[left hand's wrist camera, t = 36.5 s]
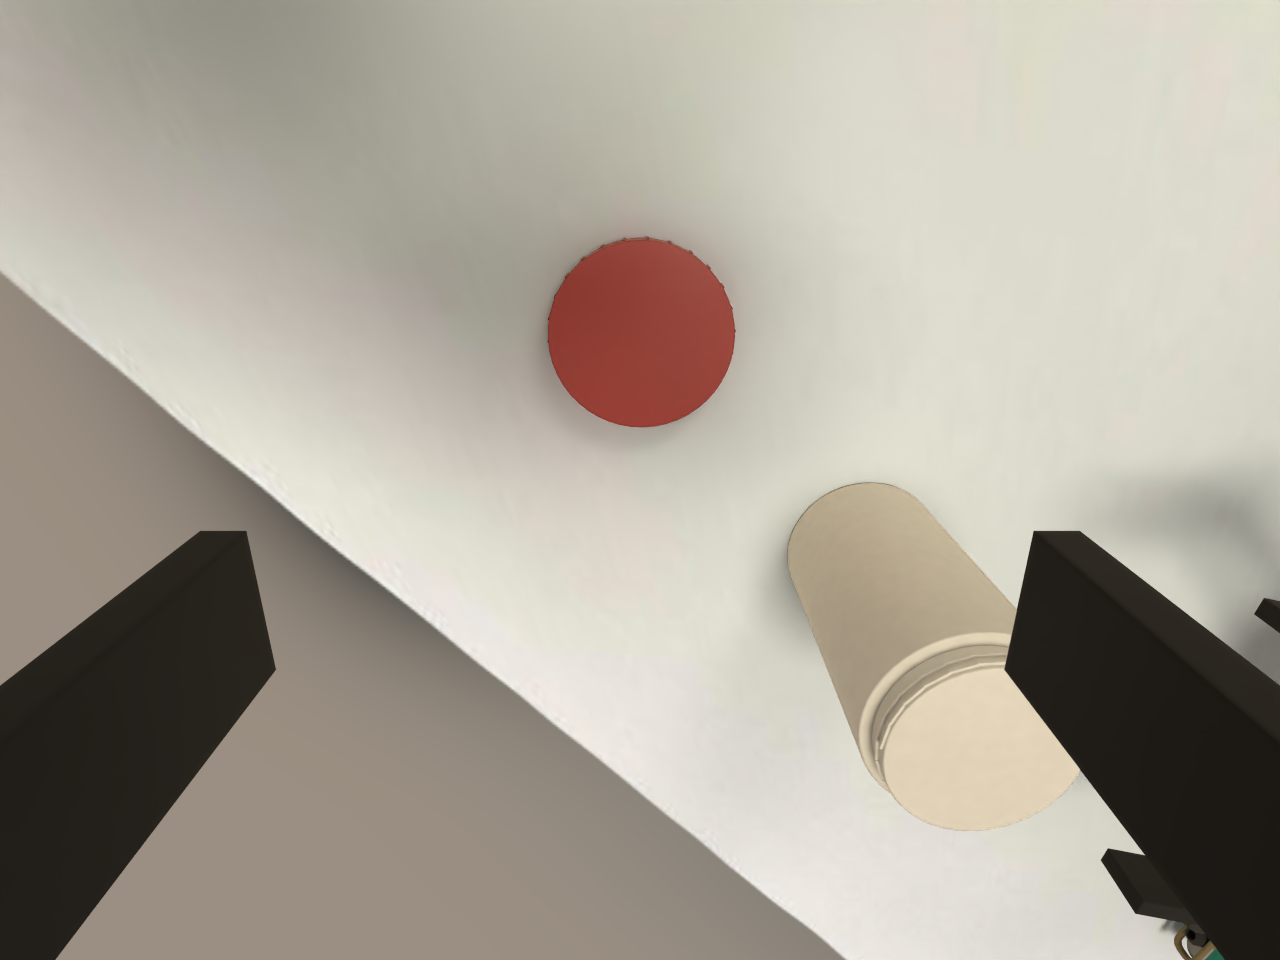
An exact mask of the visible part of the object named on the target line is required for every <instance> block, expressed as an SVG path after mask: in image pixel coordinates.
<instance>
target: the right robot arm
mask: <svg viewBox="0 0 1280 960" xmlns="http://www.w3.org/2000/svg"><path fill="white" fill-rule="evenodd" d="M1255 615H1256V616H1257V617H1259V618H1260V619H1261V620H1263V621H1264V622H1266V623H1267V624H1268V625H1270V626H1271V627H1272V628H1274V629H1275V630H1277V631H1278V632H1279V633H1280V601H1275V600H1271V599H1266V598H1264V599H1263V601H1262V602H1261V604H1260V605H1259V607H1258V609H1257V610H1256V612H1255ZM1101 861H1102V863H1103V864H1104V866H1105V867H1106V869H1107V870H1108V872H1109V873H1110V875H1111V877H1112V878H1113V880H1114V881H1115V883H1116V884H1117V886H1118V887H1119V889H1120V890H1121V892H1122V894H1123V895H1124V897H1125V898H1126V900H1127V901H1128V903H1129V904H1130V906H1131V907H1132V909H1133V910H1134V912H1135V914H1140V915H1146V916H1151V917H1156V918H1162V919H1167V920H1173V921H1178V922H1183V923H1185V925H1186V926H1187V927H1188V928H1189V929H1191V930H1192V931H1194V932H1196V933H1200V934H1205V933H1204V932H1203V930H1202V929H1201V928H1200V926H1199V925H1198V924H1197V923H1196V921H1195V920H1194V919H1193V917H1192V916H1191V915H1190V913H1189V912H1188V911H1187V909H1186V908H1185V907H1184V905H1183V904H1182V903H1181V902H1180V900H1179V899H1178V898H1177V896H1176V895H1175V894H1174V892H1173V891H1172V890H1171V888H1170V887H1169V886H1168V884H1167V883H1166V882H1165V880H1164V879H1163V878H1162V877H1161V875H1160V874H1159V873H1158V871H1157V870H1156V869H1155V867H1154V866H1153V865H1152V863H1151V862H1150V861H1149V859H1148V858H1147V857H1146V856H1145V855H1140V854H1135V853H1129V852H1124V851H1119V850H1114V849H1107V851H1106V853H1105V854H1104V856H1103V857H1102V859H1101ZM1205 935H1206V934H1205Z"/></svg>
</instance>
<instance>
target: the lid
mask: <svg viewBox="0 0 1280 960" xmlns="http://www.w3.org/2000/svg"><path fill="white" fill-rule="evenodd" d="M710 269H711V268H710V267H709V266H708V265H707V266H706V265H705V264H704V263H703V262H702V261H700V260H699V259H698V258H697V257H696V256H694V255H693V252H692V251H687V250H685V249H683V248H681V247H679V246H677V245H675V244H672V242H671V241H669V242H666V241H662V240H657V239H651V238H649V237H648V236H646V238H633V239H626V238H623V240H621V241H617V242H614V243H611V244H608V245H606V246H604V245H602V246H601V248H600V249H598V250H596V251H594V252H593V253H591V254H590V255H588V256H587V257H586V258H585V257H583V258H582V259H581V262H580V263H579V264H578V265H577V266H576V267H575V268H574V269H573V270H572V272H571V273H570V274H569V273H568V274H567V275H566V276H565V278H566V279H565V280H564V282H563V284H562V285H561V287H560V289H559V291H558V293H556V295H555V296H554V298H555V300H554V302H553V305H552V309H551V312H550V316H549V318H548V320H549V325H548V343H549V350H550V355H551V359H552V362H553V365H554V368H555V370H556V373H557V375H558V377H559V378H560V380H561V382H562V384H563V385H564V387H565V388H566V389H567V391H568V392H569V393H570V395H571V396H572V397H573V398H574V399H575V400H576V401H577V402H578V403H579V404H580V405H582V406H583V407H584V408H585V409H587V410H588V411H590V412H591V413H593V414H594V415H596V416H598V417H600V418H602V419H604V420H607V421H609V422H612V423H616V424H619V425H624V426H630V427H653V426H659V425H664V424H667V423H670V422H673V421H676V420H678V419H681V418H683V417H685V416H687V415H688V414H690V413H691V412H693V411H694V410H696V409H697V408H699V407H700V406H701V405H702V404H703V403H705V402H706V401H707V400H708V399H709V397H710V396H711V395H712V394H713V393H714V392H715V390H716V389H717V388H718V386H719V385H720V383H721V382H722V380H723V378H724V376H725V374H726V372H727V370H728V367H729V364H730V362H731V358H732V354H733V349H734V340H735V328H734V319H733V313H732V307H731V305H730V303H729V300H728V298H727V295H726V293H725V291H724V289H723V288H724V286H723V285H722V284H721V283H720V282H719V281H718V279H717V278H716V277H715V275H714V274H713V273H712V272H711V271H710Z"/></svg>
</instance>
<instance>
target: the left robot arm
mask: <svg viewBox="0 0 1280 960" xmlns="http://www.w3.org/2000/svg"><path fill="white" fill-rule="evenodd" d="M275 670H276V668H275V664H274V659H273V654H272V649H271V645H270V640H269V635H268V631H267V626H266V621H265V617H264V612H263V607H262V603H261V598H260V593H259V589H258V584H257V579H256V575H255V570H254V565H253V560H252V556H251V551H250V546H249V542H248V537H247V532H246V531H200V532H198V533H197V534H196V535H195V536H193V537H192V538H191V539H189V540H188V541H187V542H185V543H184V544H183V545H182V546H180V547H179V548H178V549H176V550H175V551H174V552H173V553H171V554H170V555H169V556H167V557H166V558H165V559H163V560H162V561H161V562H160V563H158V564H157V565H156V566H154V567H153V568H152V569H150V570H149V571H148V572H147V573H145V574H144V575H143V576H141V577H140V578H139V579H138V580H136V581H135V582H134V583H132V584H131V585H130V586H129V587H127V588H126V589H125V590H123V591H122V592H121V593H120V594H118V595H117V596H116V597H114V598H113V599H112V600H110V601H109V602H108V603H107V604H105V605H104V606H103V607H101V608H100V609H99V610H98V611H96V612H95V613H94V614H92V615H91V616H90V617H88V618H87V619H86V620H85V621H83V622H82V623H81V624H79V625H78V626H77V627H76V628H74V629H73V630H72V631H70V632H69V633H68V634H66V635H65V636H64V637H63V638H61V639H60V640H59V641H57V642H56V643H55V644H54V645H52V646H51V647H50V648H48V649H47V650H46V651H44V652H43V653H42V654H41V655H39V656H38V657H37V658H35V659H34V660H33V661H32V662H30V663H29V664H28V665H26V666H25V667H24V668H23V669H21V670H20V671H19V672H17V673H16V674H15V675H14V676H12V677H11V678H10V679H8V680H7V681H6V682H4V683H3V684H2V685H1V686H0V960H55V959H56V958H57V957H58V955H59V954H60V953H61V951H62V950H63V949H64V947H65V946H66V945H67V944H68V942H69V941H70V940H71V938H72V937H73V936H74V934H75V933H76V932H77V930H78V929H79V928H80V926H81V925H82V924H83V923H84V921H85V920H86V919H87V917H88V916H89V915H90V913H91V912H92V911H93V909H94V908H95V907H96V905H97V904H98V903H99V902H100V900H101V899H102V898H103V896H104V895H105V894H106V892H107V891H108V890H109V888H110V887H111V886H112V884H113V883H114V882H115V880H116V879H117V878H118V877H119V875H120V874H121V873H122V871H123V870H124V869H125V867H126V866H127V865H128V863H129V862H130V861H131V859H132V858H133V857H134V855H135V854H136V853H137V852H138V850H139V849H140V848H141V846H142V845H143V844H144V842H145V841H146V840H147V838H148V837H149V836H150V834H151V833H152V832H153V830H154V829H155V828H156V827H157V825H158V824H159V823H160V821H161V820H162V819H163V817H164V816H165V815H166V813H167V812H168V811H169V809H170V808H171V807H172V805H173V804H174V803H175V802H176V800H177V799H178V798H179V796H180V795H181V794H182V792H183V791H184V790H185V788H186V787H187V786H188V784H189V783H190V782H191V781H192V779H193V778H194V777H195V775H196V774H197V773H198V771H199V770H200V769H201V767H202V766H203V765H204V763H205V762H206V761H207V759H208V758H209V757H210V756H211V754H212V753H213V752H214V750H215V749H216V748H217V746H218V745H219V744H220V742H221V741H222V740H223V738H224V737H225V736H226V735H227V733H228V732H229V731H230V729H231V728H232V727H233V725H234V724H235V723H236V721H237V720H238V719H239V717H240V716H241V715H242V714H243V712H244V711H245V709H246V708H247V707H248V706H249V704H250V703H251V702H252V700H253V699H254V698H255V696H256V695H257V694H258V692H259V691H260V690H261V689H262V687H263V686H264V685H265V683H266V682H267V681H268V679H269V678H270V677H271V675H272V674H273V673H274V671H275ZM1004 670H1005V671H1006V673H1007V674H1008V675H1009V677H1010V678H1011V679H1012V681H1013V682H1014V683H1015V685H1016V686H1017V687H1018V689H1019V690H1020V691H1021V692H1022V694H1023V695H1024V696H1025V698H1026V699H1027V700H1028V702H1029V703H1030V704H1031V706H1032V707H1033V708H1034V710H1035V711H1036V712H1037V714H1038V715H1039V716H1040V717H1041V719H1042V720H1043V721H1044V723H1045V724H1046V725H1047V727H1048V728H1049V729H1050V731H1051V732H1052V733H1053V735H1054V736H1055V737H1056V738H1057V740H1058V741H1059V742H1060V744H1061V745H1062V746H1063V748H1064V749H1065V750H1066V752H1067V753H1068V754H1069V756H1070V757H1071V758H1072V760H1073V761H1074V762H1075V763H1076V765H1077V766H1078V767H1079V769H1080V770H1081V771H1082V773H1083V774H1084V775H1085V777H1086V778H1087V779H1088V781H1089V782H1090V783H1091V784H1092V786H1093V787H1094V788H1095V790H1096V791H1097V792H1098V794H1099V795H1100V796H1101V798H1102V799H1103V800H1104V802H1105V803H1106V804H1107V806H1108V807H1109V808H1110V809H1111V811H1112V812H1113V813H1114V815H1115V816H1116V817H1117V819H1118V820H1119V821H1120V823H1121V824H1122V825H1123V827H1124V828H1125V829H1126V831H1127V832H1128V833H1129V834H1130V836H1131V837H1132V838H1133V840H1134V841H1135V842H1136V844H1137V845H1138V846H1139V848H1140V849H1141V850H1142V852H1143V853H1144V854H1145V855H1146V857H1147V858H1148V859H1149V861H1150V862H1151V863H1152V865H1153V866H1154V867H1155V869H1156V870H1157V871H1158V873H1159V874H1160V875H1161V877H1162V878H1163V879H1164V880H1165V882H1166V883H1167V884H1168V886H1169V887H1170V888H1171V890H1172V891H1173V892H1174V894H1175V895H1176V896H1177V898H1178V899H1179V900H1180V902H1181V903H1182V904H1183V905H1184V907H1185V908H1186V909H1187V911H1188V912H1189V913H1190V915H1191V916H1192V917H1193V919H1194V920H1195V921H1196V923H1197V924H1198V925H1199V926H1200V928H1201V929H1202V930H1203V932H1204V933H1205V934H1206V936H1207V937H1208V938H1209V940H1210V941H1211V942H1212V944H1213V945H1214V946H1215V948H1216V949H1217V950H1218V951H1219V953H1220V954H1221V955H1222V957H1223V958H1224V959H1225V960H1280V686H1279V685H1278V684H1277V683H1276V682H1274V681H1273V680H1272V679H1270V678H1269V677H1268V676H1267V675H1265V674H1264V673H1263V672H1261V671H1260V670H1259V669H1258V668H1256V667H1255V666H1254V665H1252V664H1251V663H1250V662H1248V661H1247V660H1246V659H1245V658H1243V657H1242V656H1241V655H1239V654H1238V653H1237V652H1236V651H1234V650H1233V649H1232V648H1230V647H1229V646H1228V645H1226V644H1225V643H1224V642H1223V641H1221V640H1220V639H1219V638H1217V637H1216V636H1215V635H1214V634H1212V633H1211V632H1210V631H1208V630H1207V629H1206V628H1205V627H1203V626H1202V625H1201V624H1199V623H1198V622H1197V621H1195V620H1194V619H1193V618H1192V617H1190V616H1189V615H1188V614H1186V613H1185V612H1184V611H1183V610H1181V609H1180V608H1179V607H1177V606H1176V605H1175V604H1173V603H1172V602H1171V601H1170V600H1168V599H1167V598H1166V597H1164V596H1163V595H1162V594H1161V593H1159V592H1158V591H1157V590H1155V589H1154V588H1153V587H1151V586H1150V585H1149V584H1148V583H1146V582H1145V581H1144V580H1142V579H1141V578H1140V577H1139V576H1137V575H1136V574H1135V573H1133V572H1132V571H1131V570H1130V569H1128V568H1127V567H1126V566H1124V565H1123V564H1122V563H1120V562H1119V561H1118V560H1117V559H1115V558H1114V557H1113V556H1111V555H1110V554H1109V553H1108V552H1106V551H1105V550H1104V549H1102V548H1101V547H1100V546H1098V545H1097V544H1096V543H1095V542H1093V541H1092V540H1091V539H1089V538H1088V537H1087V536H1086V535H1084V534H1083V533H1082V532H1080V531H1034V532H1033V537H1032V542H1031V546H1030V551H1029V556H1028V560H1027V565H1026V570H1025V574H1024V579H1023V584H1022V589H1021V593H1020V598H1019V603H1018V607H1017V612H1016V617H1015V621H1014V626H1013V631H1012V635H1011V640H1010V645H1009V649H1008V654H1007V659H1006V663H1005V668H1004Z"/></svg>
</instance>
